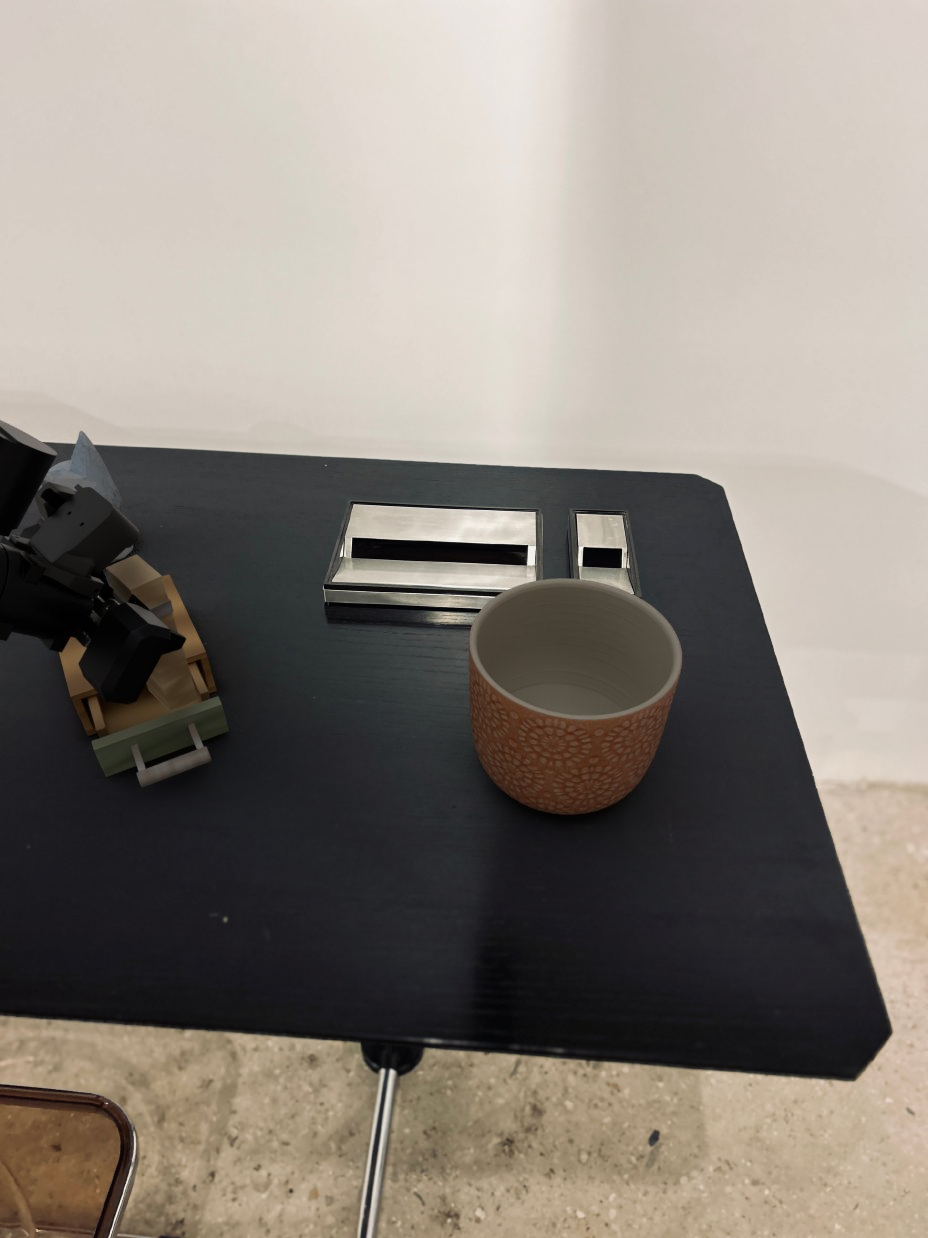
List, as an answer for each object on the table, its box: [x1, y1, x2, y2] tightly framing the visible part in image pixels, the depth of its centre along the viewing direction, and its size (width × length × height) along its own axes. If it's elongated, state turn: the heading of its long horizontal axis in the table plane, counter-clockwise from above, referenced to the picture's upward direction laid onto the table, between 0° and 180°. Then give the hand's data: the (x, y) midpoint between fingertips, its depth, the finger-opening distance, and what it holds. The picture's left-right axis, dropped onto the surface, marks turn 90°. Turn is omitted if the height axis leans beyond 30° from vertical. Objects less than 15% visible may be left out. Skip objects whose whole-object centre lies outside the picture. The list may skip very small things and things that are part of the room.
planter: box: [467, 577, 683, 816], centre depth 67 cm, size 17×17×15 cm
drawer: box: [87, 661, 230, 789], centre depth 73 cm, size 18×11×4 cm, turn 30°
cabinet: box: [58, 574, 218, 737], centre depth 80 cm, size 14×12×5 cm
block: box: [105, 554, 198, 713], centre depth 65 cm, size 3×4×14 cm, turn 45°
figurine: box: [38, 430, 135, 565], centre depth 92 cm, size 10×9×15 cm
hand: (170, 631), depth 66 cm, fingers closed on block, 4 cm apart
